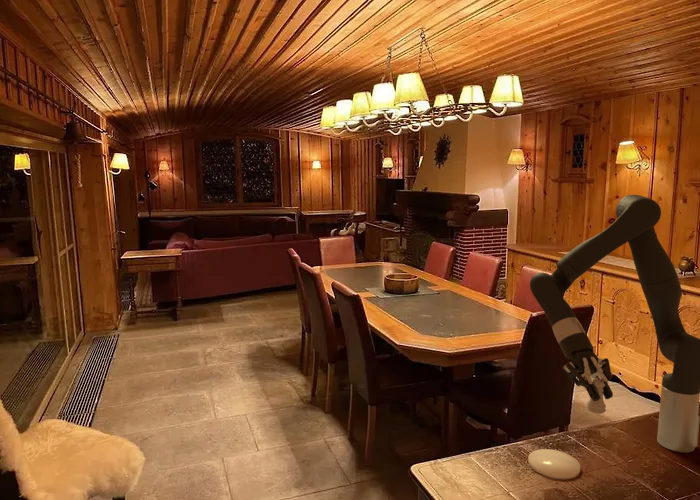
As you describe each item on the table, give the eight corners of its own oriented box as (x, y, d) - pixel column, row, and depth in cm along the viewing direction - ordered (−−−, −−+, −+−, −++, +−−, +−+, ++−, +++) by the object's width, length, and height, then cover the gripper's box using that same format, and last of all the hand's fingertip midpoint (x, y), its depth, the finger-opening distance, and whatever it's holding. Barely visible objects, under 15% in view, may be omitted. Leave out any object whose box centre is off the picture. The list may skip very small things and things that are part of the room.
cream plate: (557, 449, 144) (557, 446, 144) (591, 474, 132) (591, 470, 132) (518, 456, 141) (518, 453, 140) (550, 483, 128) (550, 479, 128)
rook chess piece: (608, 415, 127) (610, 384, 126) (589, 413, 128) (591, 383, 127) (603, 407, 131) (605, 377, 130) (584, 405, 132) (586, 376, 131)
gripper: (557, 333, 132) (589, 397, 122) (601, 329, 136) (635, 389, 126) (543, 346, 138) (572, 408, 128) (585, 341, 142) (616, 400, 132)
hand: (603, 398), depth 127 cm, fingers closed on rook chess piece, 3 cm apart
